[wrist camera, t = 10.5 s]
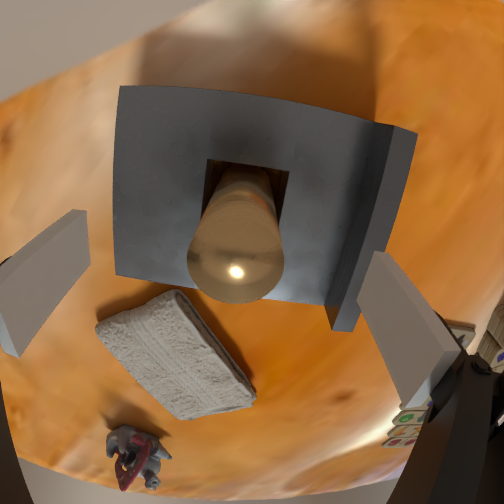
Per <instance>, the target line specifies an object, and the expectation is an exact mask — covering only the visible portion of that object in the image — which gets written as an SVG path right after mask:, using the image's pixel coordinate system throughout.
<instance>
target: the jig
mask: <svg viewBox="0 0 504 504" xmlns="http://www.w3.org/2000/svg"><path fill="white" fill-rule="evenodd" d="M417 137H418V134H417V133H414V132H412V131H409V130H406V129H403V128H400V127H397V126H394V125H389V124H383V123H377V122H373V121H370V120H366V119H363V118H359V117H356V116H352V115H349V114H345V113H341V112H337V111H333V110H329V109H325V108H321V107H316V106H312V105H307V104H302V103H298V102H293V101H287V100H282V99H277V98H271V97H265V96H258V95H252V94H245V93H237V92H229V91H221V90H211V89H200V88H187V87H169V86H120V89H119V97H118V106H117V116H116V128H115V142H114V161H113V237H114V257H115V271H116V275H119V276H124V277H130V278H135V279H141V280H147V281H153V282H158V283H164V284H170V285H177V286H183V287H189V288H195V289H199V288H198V287H197V286H196V284H195V283H194V282H193V280H192V278H191V276H190V274H189V271H188V268H187V251H188V248H189V245H190V243H191V240H192V238H193V236H194V234H195V232H196V229H197V227H198V225H199V223H200V221H201V219H202V216H203V214H204V212H205V210H206V208H207V206H208V204H209V196H210V187H211V179H212V171H213V163H214V160H220V161H227V162H235V163H242V164H248V165H255V166H261V167H267V168H273V169H279V170H282V175H281V180H280V185H279V190H278V196H277V201H276V206H275V210H276V215H277V221H278V226H279V232H280V237H281V243H282V248H283V254H284V270H283V274H282V277H281V279H280V281H279V282H278V284H277V285H276V287H275V288H274V289H273V290H272V291H271V292H270V293H269V294H267V295H266V296H264V297H262V298H266V299H273V300H281V301H289V302H298V303H306V304H315V305H324V306H325V310H326V313H327V316H328V320H329V323H330V326H331V330H332V331H343V332H352V331H353V329H354V327H355V325H356V322H357V320H358V318H359V315H360V313H361V309H360V307H359V305H358V303H357V301H356V300H357V297H358V295H359V292H360V290H361V287H362V284H363V282H364V279H365V276H366V273H367V271H368V268H369V265H370V262H371V259H372V257H373V254H374V251H379V252H384V251H385V249H386V246H387V243H388V240H389V237H390V234H391V231H392V228H393V225H394V222H395V218H396V215H397V212H398V209H399V205H400V202H401V199H402V195H403V192H404V188H405V185H406V181H407V177H408V174H409V170H410V166H411V162H412V158H413V154H414V150H415V145H416V141H417Z"/></svg>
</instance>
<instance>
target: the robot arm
mask: <svg viewBox="0 0 504 504" xmlns="http://www.w3.org/2000/svg"><path fill="white" fill-rule="evenodd" d="M89 266H90V254H89V243H88V229H87V211H84V210H75V209H73V210H71V211H70V212H68V213H67V214H66V215H64V216H63V217H61V218H60V219H59V220H57V221H56V222H55V223H53V224H52V225H51V226H49V227H48V228H47V229H45V230H44V231H43V232H41V233H40V234H39V235H38V236H36V237H35V238H34V239H32V240H31V241H30V242H29V243H27V244H26V245H25V246H24V247H22V248H21V249H20V250H19V251H18V252H16V253H15V254H14V255H13V256H11V257H9V258H7V259H5V260H4V261H3V262H2V263H1V264H0V344H1V346H2V348H3V350H4V352H5V353H7V354H10V355H12V356H15V357H17V358H20V356H21V355H22V353H23V352H24V351H25V349H26V348H27V346H28V345H29V343H30V342H31V340H32V339H33V338H34V336H35V335H36V333H37V332H38V331H39V329H40V328H41V326H42V325H43V324H44V322H45V321H46V320H47V318H48V317H49V316H50V314H51V313H52V312H53V310H54V309H55V308H56V306H57V305H58V304H59V302H60V301H61V300H62V299H63V297H64V296H65V295H66V294H67V292H68V291H69V290H70V289H71V287H72V286H73V285H74V284H75V282H76V281H77V280H78V279H79V278H80V276H81V275H82V274H83V273H84V272H85V270H86V269H87V268H88V267H89ZM356 301H357V303H358V305H359V307H360V309H361V311H362V313H363V315H364V317H365V320H366V322H367V324H368V326H369V328H370V330H371V332H372V335H373V337H374V339H375V341H376V343H377V345H378V348H379V350H380V352H381V354H382V357H383V359H384V361H385V363H386V366H387V368H388V370H389V373H390V375H391V377H392V380H393V382H394V384H395V387H396V389H397V392H398V394H399V397H400V399H401V401H402V404H403V406H404V408H411V407H419V406H421V405H422V404H423V403H424V402H425V400H426V399H427V398H428V397H429V395H430V397H431V399H432V401H433V403H432V404H431V405H430V406H429V408H428V409H427V410H426V411H425V412H424V413H423V415H422V416H421V417H420V418H419V420H418V421H417V422H419V423H420V422H421V420H422V419H424V418H425V419H424V421H423V424H422V427H421V429H420V432H419V435H418V437H417V440H416V442H415V445H414V447H413V449H412V452H411V454H410V456H409V459H408V461H407V463H406V465H405V468H404V470H403V472H402V474H401V476H400V478H399V480H398V482H397V484H396V486H395V488H394V490H393V492H392V494H391V496H390V498H389V500H388V502H387V503H386V504H504V422H503V423H502V424H501V425H500V426H499V425H498V420H499V419H500V418H501V417H502V416H503V415H504V370H503V371H502V373H498V372H493V370H492V368H491V366H490V365H489V364H488V362H487V361H486V360H484V359H483V358H481V357H479V356H477V355H468V354H467V352H466V351H465V349H464V348H463V346H462V345H461V343H460V342H459V340H458V339H457V337H456V336H455V335H454V334H453V332H452V330H451V329H450V327H448V325H447V323H446V322H445V321H444V319H443V318H442V317H441V316H440V315H439V314H438V313H437V312H436V311H434V310H433V309H432V308H431V306H430V305H429V304H428V302H427V301H426V300H425V298H424V297H423V296H422V294H421V293H420V292H419V291H418V289H417V288H416V287H415V285H414V284H413V283H412V282H411V280H410V279H409V278H408V276H407V275H406V274H405V273H404V271H403V270H402V269H401V268H400V267H399V265H398V264H397V263H396V262H395V260H394V259H393V258H392V257H391V256H390V254H389V253H385V252H379V251H374V254H373V257H372V259H371V262H370V265H369V268H368V271H367V273H366V276H365V279H364V282H363V284H362V287H361V290H360V292H359V295H358V297H357V300H356ZM0 504H34V503H33V501H32V498H31V496H30V493H29V491H28V488H27V485H26V483H25V480H24V477H23V474H22V471H21V468H20V465H19V462H18V459H17V455H16V452H15V448H14V445H13V441H12V437H11V433H10V429H9V425H8V421H7V416H6V411H5V406H4V401H3V395H2V389H1V382H0Z"/></svg>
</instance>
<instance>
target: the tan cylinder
mask: <svg viewBox="0 0 504 504" xmlns="http://www.w3.org/2000/svg"><path fill="white" fill-rule="evenodd" d="M187 268H188V271H189V274H190V276H191V278H192V280H193V282H194V283H195V284H196V286H197V287H198V288H199V289H200V290H201V291H202V292H204V293H205V294H206V295H208V296H209V297H211V298H213V299H215V300H218V301H221V302H225V303H230V304H244V303H249V302H253V301H256V300H259V299H260V298H262V297H264V296H266V295H267V294H269V293H270V292H271V291H272V290H273V289H274V288H275V287H276V285H277V284H278V282H279V281H280V279H281V277H282V274H283V270H284V254H283V248H282V243H281V237H280V232H279V226H278V221H277V215H276V210H275V205H274V199H273V194H272V189H271V184H270V180H269V178H268V176H267V174H266V173H265V172H264V171H263V170H262V169H261V168H260V167H258V166H255V165H248V164H242V163H239V164H235V165H233V166H231V167H230V168H228V169H227V170H226V171H225V172H224V173H223V175H222V177H221V179H220V181H219V183H218V185H217V187H216V189H215V191H214V193H213V195H212V197H211V199H210V201H209V204H208V206H207V208H206V210H205V212H204V214H203V216H202V219H201V221H200V223H199V225H198V227H197V229H196V232H195V234H194V236H193V238H192V240H191V243H190V245H189V248H188V251H187Z"/></svg>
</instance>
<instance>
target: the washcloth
mask: <svg viewBox="0 0 504 504" xmlns="http://www.w3.org/2000/svg"><path fill="white" fill-rule="evenodd" d="M95 331H96V333H97V337H98V338H99V340H101V341H102V343H103V344H104V345H105V346H106V347H107V349H108V350H109V351H110V352H111V353H112V355H113V356H115V357H116V358H117V359H118V361H119V362H120V363H121V364H122V366H124V367H125V369H127V371H128V372H129V373H130V374H131V375H132V376H133V378H135V380H136V381H138V382H139V383H140V384H141V385H142V387H143V388H144V389H146V390H147V391H148V393H150V394H151V395H152V396H153V397H155V398H156V399H157V401H158V402H160V403H161V404H162V405H163V406H164V407H165V408H166V409H167V410H168V411H169V412H170V413H171V414H173V416H174V417H176V418H178V419H180V420H185V419H186V420H194V419H195V418H197V417H201V416H205V415H212V414H217V413H223V412H230V411H235V410H238V409H242V408H247V407H252V406H253V400H255V399H256V398H257V396H256V394H255V392H254V391H253V389H252V385H251V383H250V382H249V380H248V379H247V377H246V375H245V374H244V373H243V371H242V370H241V369H240V367H239V366H238V365H237V363H236V362H235V361H234V360H233V359H232V357H231V356H230V354H229V353H228V352H227V350H226V349H225V348H224V347H223V345H222V344H221V342H220V341H219V340H218V339H217V337H216V336H215V335H214V333H213V332H212V331H211V330H210V328H209V327H208V326H207V325H206V323H205V322H204V320H203V319H202V317H201V316H200V314H199V313H198V312H197V310H196V309H195V307H194V306H193V304H192V303H191V302H190V300H189V299H188V297H187V296H186V295H185V294H184V293H183V292H182V291H181V290H179V289H173V290H169V291H167V292H165V293H163V294H160V295H159V296H156V297H154V298H153V299H151V300H150V301H149V302H146V304H145V305H143V306H139V307H137V308H134V309H132V310H125V311H122V312H120V313H118V314H116V315H113V316H112V317H108V318H107V319H105V320H103V321H101V322H99V323H98V324H97V325H96V327H95Z"/></svg>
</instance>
